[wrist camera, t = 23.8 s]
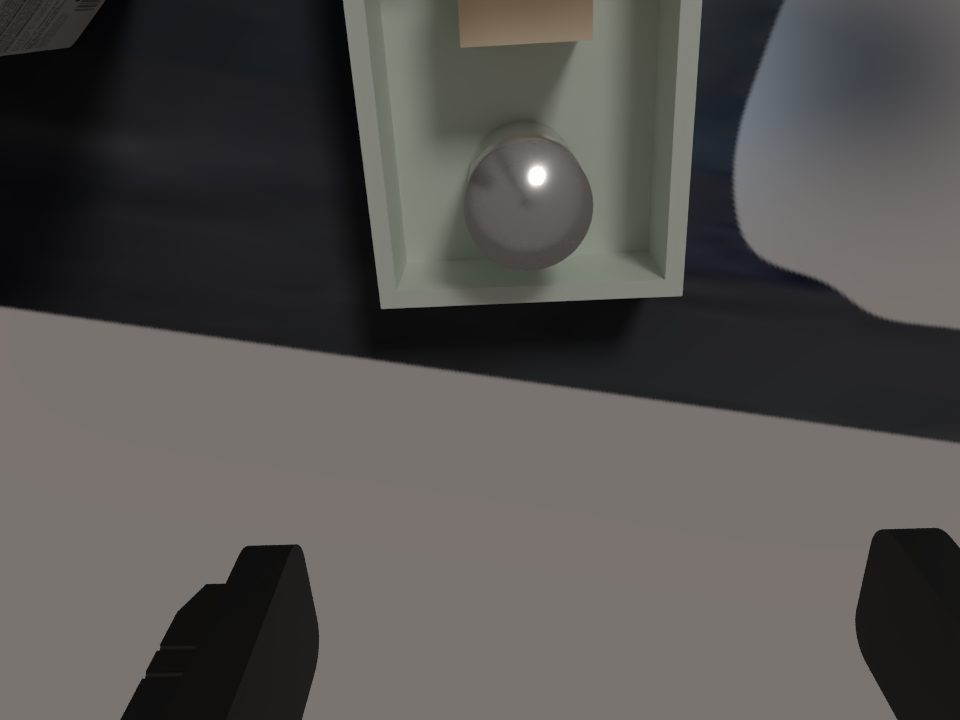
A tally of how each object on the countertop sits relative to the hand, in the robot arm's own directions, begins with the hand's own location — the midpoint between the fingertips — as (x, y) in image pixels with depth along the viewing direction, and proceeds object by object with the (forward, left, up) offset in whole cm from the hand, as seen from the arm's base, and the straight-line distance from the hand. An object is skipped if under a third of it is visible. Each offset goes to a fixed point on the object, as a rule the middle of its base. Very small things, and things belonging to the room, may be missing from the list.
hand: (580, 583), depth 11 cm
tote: (-4, 0, -28) cm, 28 cm away
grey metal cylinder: (0, 0, -27) cm, 27 cm away
